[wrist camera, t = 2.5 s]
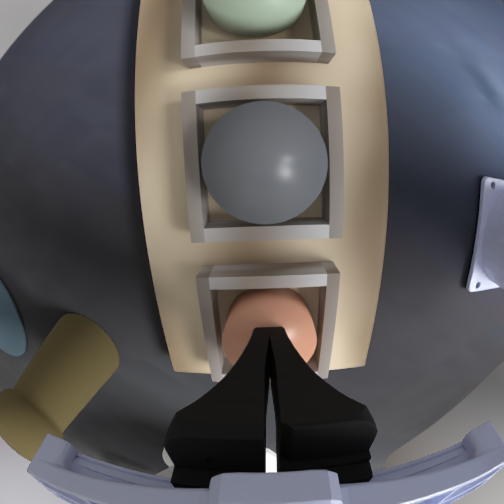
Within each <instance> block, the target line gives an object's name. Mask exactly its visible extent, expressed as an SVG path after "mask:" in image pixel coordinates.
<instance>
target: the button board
mask: <svg viewBox="0 0 504 504" xmlns="http://www.w3.org/2000/svg"><path fill="white" fill-rule="evenodd" d="M255 101H273V102H279V103H282V104H286V105H288V106H290V107H293V108H295V109H296V110H298V111H300V112H301V113H303V114H304V115H305V116H306V117H307V118H309V119H310V121H311V122H312V123H313V124H314V125H315V126H316V128H317V129H318V131H319V132H320V134H321V136H322V138H323V141H324V143H325V146H326V151H327V157H328V170H327V175H326V180H325V183H324V186H323V188H322V190H321V192H320V194H319V195H318V197H317V198H316V200H315V201H314V202H313V203H312V204H311V205H310V206H309V207H308V208H307V209H306V210H305V211H304V212H302V213H301V214H299V215H298V216H296V217H294V218H292V219H290V220H287V221H284V222H280V223H276V224H255V223H250V222H246V221H243V220H240V219H238V218H236V217H234V216H232V215H231V214H229V213H228V212H226V211H225V210H224V209H222V208H221V207H220V206H219V205H218V204H217V203H216V201H215V200H214V199H213V197H212V196H211V194H210V193H209V191H208V189H207V187H206V185H205V182H204V179H203V175H202V168H201V156H202V149H203V146H204V142H205V140H206V137H207V135H208V133H209V132H210V130H211V128H212V127H213V126H214V124H215V123H216V122H217V121H218V120H219V119H220V118H221V117H222V116H223V115H224V114H226V113H227V112H229V111H230V110H232V109H234V108H236V107H237V106H240V105H243V104H245V103H250V102H255ZM135 130H136V151H137V165H138V178H139V188H140V198H141V207H142V215H143V223H144V230H145V237H146V244H147V250H148V256H149V262H150V268H151V273H152V279H153V284H154V289H155V294H156V299H157V304H158V308H159V313H160V317H161V321H162V326H163V330H164V334H165V338H166V342H167V346H168V350H169V354H170V357H171V361H172V364H173V368H174V371H176V372H191V373H211V377H212V381H216V382H220V381H221V380H222V379H223V378H224V376H225V375H226V374H227V373H228V372H229V371H230V370H231V368H232V367H233V366H234V365H233V364H232V363H231V362H230V361H229V360H228V358H227V356H226V355H225V352H224V350H223V344H222V339H223V333H224V328H225V323H226V319H227V314H228V310H229V308H230V306H231V304H232V302H233V301H234V300H235V298H236V297H237V296H238V295H240V294H241V293H242V292H244V291H245V290H247V289H269V288H290V289H292V290H294V291H296V292H297V293H298V294H300V295H301V296H302V297H303V299H304V300H305V301H306V303H307V305H308V307H309V310H310V313H311V316H312V320H313V323H314V327H315V331H316V335H317V344H316V348H315V351H314V353H313V355H312V357H311V358H310V360H309V361H308V362H307V364H308V365H309V366H310V367H311V369H312V370H313V371H314V372H315V373H316V374H317V375H318V376H320V377H321V378H328V372H329V370H334V369H343V368H352V367H359V366H364V365H365V361H366V356H367V352H368V348H369V343H370V339H371V334H372V329H373V324H374V319H375V314H376V308H377V302H378V296H379V290H380V283H381V276H382V268H383V260H384V251H385V240H386V229H387V214H388V192H389V142H388V121H387V107H386V95H385V86H384V77H383V69H382V62H381V56H380V50H379V44H378V39H377V33H376V28H375V24H374V19H373V15H372V10H371V6H370V2H369V0H306V2H305V6H304V9H303V12H302V15H301V17H300V18H299V20H298V21H297V22H296V23H295V24H294V25H293V26H292V27H290V28H289V29H287V30H285V31H283V32H281V33H278V34H275V35H271V36H266V37H244V36H238V35H235V34H231V33H229V32H226V31H225V30H223V29H221V28H220V27H218V26H217V25H216V24H215V23H214V22H213V21H212V20H211V18H210V17H209V15H208V12H207V10H206V7H205V5H204V3H203V0H141V3H140V11H139V21H138V32H137V45H136V64H135Z"/></svg>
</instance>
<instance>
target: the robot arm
mask: <svg viewBox="0 0 504 504" xmlns="http://www.w3.org/2000/svg"><path fill="white" fill-rule="evenodd" d="M491 183H492V186H491ZM497 287H501V288H502V289H504V180H501V179H496V178H491V177H483V178H482V181H481V193H480V206H479V216H478V225H477V232H476V239H475V245H474V251H473V257H472V262H471V267H470V272H469V276H468V280H467V285H466V288H467V290H468V291H470V292H475V291H481V290H486V289H492V288H497ZM270 382H271V389H272V397H273V404H274V411H275V420H276V461H277V472H267V473H266V413H267V403H268V393H269V383H270ZM376 434H377V428H376V424H375V422H374V419H373V417H372V416H371V414H370V412H369V410H368V408H367V407H366V406H365V405H363V404H361V403H359V402H357V401H355V400H353V399H351V398H349V397H347V396H345V395H344V394H342V393H340V392H339V391H337V390H336V389H335V388H333V387H332V386H330V385H329V384H328V383H326V382H325V381H324V380H323V379H322V378H321V377H320V376H318V375H317V374H316V373H315V372H314V371H313V370H312V369H311V367H310V366H309V365H308V364H307V363H306V362H305V360H304V359H303V358H302V357H301V355H300V354H299V353H298V351H297V350H296V348H295V347H294V345H293V344H292V342H291V340H290V339H289V337H288V335H287V333H286V331H285V328H283V327H256V328H255V329H253V332H252V335H251V338H250V340H249V342H248V344H247V346H246V347H245V349H244V351H243V353H242V354H241V356H240V357H239V359H238V360H237V362H236V363H235V364H234V366H233V367H232V368H231V370H230V371H229V372H228V373H227V374H226V375H225V376H224V378H223V379H222V380H221V381H220V382H219V383H218V384H217V385H216V386H214V387H213V388H212V389H211V390H210V391H209V392H207V393H206V394H205V395H203V396H202V397H201V398H199V399H198V400H197V401H195V402H194V403H192V404H190V405H189V406H187V407H185V408H183V409H182V410H180V411H178V412H177V413H176V414H175V416H174V418H173V420H172V422H171V424H170V426H169V429H168V432H167V435H166V439H165V442H164V447H165V450H166V452H167V454H168V455H169V457H170V459H171V461H172V462H173V464H174V469H173V473H172V477H171V478H167V477H162V476H157V475H152V474H147V473H143V472H139V471H135V470H131V469H127V468H123V467H120V466H116V465H113V464H110V463H107V462H103V461H100V460H97V459H94V458H92V457H89V456H86V455H83V454H81V453H78V452H77V450H76V449H75V448H74V446H73V445H71V444H70V443H69V442H67V441H66V440H63V439H61V438H59V437H56V436H54V435H52V434H49V433H48V434H47V436H46V437H45V439H44V441H43V442H42V444H41V446H40V447H39V449H38V451H37V453H36V454H35V456H34V458H33V460H32V461H31V463H30V465H29V467H28V469H27V472H28V473H29V474H31V475H32V476H33V477H34V478H35V479H36V480H37V481H39V482H40V483H41V484H42V485H43V486H45V487H46V488H47V489H48V490H50V491H51V492H52V493H53V494H55V495H56V496H58V497H59V498H61V499H63V500H65V501H67V502H69V503H71V504H450V503H452V502H454V501H455V500H457V499H459V498H461V497H463V496H465V495H466V494H468V493H470V492H472V491H473V490H475V489H477V488H478V487H480V486H482V485H483V484H484V483H485V482H486V481H488V480H489V479H490V478H491V477H492V476H493V475H494V474H495V473H496V472H497V471H499V470H500V469H501V468H502V467H503V466H504V443H503V441H502V439H501V438H500V436H499V434H498V433H497V431H496V429H495V428H494V426H493V424H492V423H491V421H488V422H486V423H484V424H482V425H481V426H478V427H476V428H475V429H473V430H472V431H470V432H469V433H468V434H467V435H466V436H465V438H464V439H463V441H462V442H460V443H458V444H456V445H453V446H451V447H449V448H447V449H444V450H442V451H439V452H437V453H434V454H431V455H429V456H426V457H423V458H421V459H418V460H415V461H411V462H408V463H405V464H402V465H398V466H395V467H391V468H388V469H384V470H380V471H376V472H372V470H371V466H370V462H369V460H370V459H371V455H370V452H369V449H370V447H371V445H372V443H373V441H374V439H375V437H376Z"/></svg>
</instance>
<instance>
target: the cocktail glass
mask: <svg viewBox="0 0 504 504" xmlns="http://www.w3.org/2000/svg"><path fill="white" fill-rule="evenodd" d="M26 345H27V341H26V333H25V329H24V325H23V322H22V319H21V316H20V314H19V312H18V309H17V307H16V305H15V303H14V301H13V299H12V297H11V295H10V293H9V292H8V290H7V288H6V287H5V285H4V284H3V282H2V281H1V279H0V348H1V349H2V350H3V351H5V352H6V353H8V354H10V355H12V356H21V355H22V354H23V353H24V352H25V350H26Z"/></svg>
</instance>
